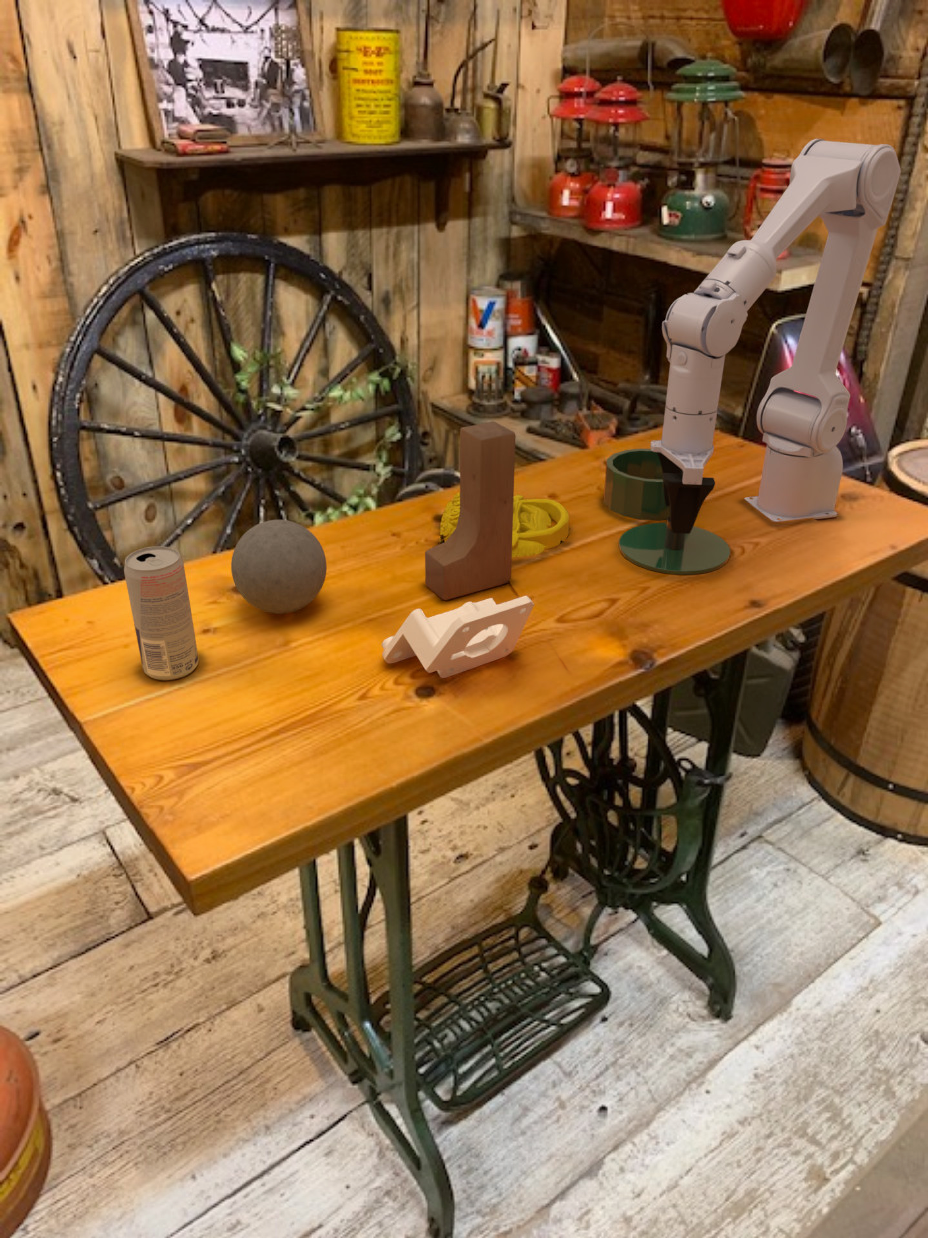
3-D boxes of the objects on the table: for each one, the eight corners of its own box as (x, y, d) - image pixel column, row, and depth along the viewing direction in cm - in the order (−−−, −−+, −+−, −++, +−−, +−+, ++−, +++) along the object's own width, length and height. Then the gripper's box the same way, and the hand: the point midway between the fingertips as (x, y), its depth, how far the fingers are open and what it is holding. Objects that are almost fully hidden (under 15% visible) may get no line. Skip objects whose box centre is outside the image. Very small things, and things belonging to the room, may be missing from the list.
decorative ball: (309, 636, 102) (302, 549, 97) (221, 624, 104) (209, 539, 99) (342, 591, 111) (336, 509, 106) (259, 581, 113) (250, 500, 108)
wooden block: (443, 602, 109) (442, 447, 99) (424, 585, 112) (421, 433, 103) (512, 583, 112) (517, 432, 103) (491, 567, 116) (494, 419, 107)
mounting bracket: (404, 702, 95) (427, 635, 87) (375, 653, 98) (394, 584, 90) (506, 666, 101) (536, 600, 93) (475, 620, 104) (501, 552, 96)
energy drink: (177, 646, 100) (159, 540, 94) (210, 664, 97) (194, 556, 91) (132, 668, 97) (110, 559, 91) (165, 688, 94) (145, 577, 88)
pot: (667, 485, 138) (672, 445, 135) (707, 518, 128) (713, 476, 125) (590, 493, 135) (593, 452, 132) (624, 528, 125) (628, 485, 122)
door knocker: (591, 539, 123) (593, 508, 121) (491, 574, 114) (492, 541, 112) (506, 497, 134) (507, 467, 132) (409, 526, 126) (409, 495, 123)
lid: (697, 525, 126) (701, 493, 124) (749, 571, 115) (755, 537, 113) (601, 537, 123) (604, 504, 121) (645, 585, 112) (649, 550, 110)
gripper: (649, 386, 116) (638, 493, 123) (661, 427, 104) (648, 543, 111) (710, 388, 116) (695, 495, 123) (729, 429, 103) (711, 546, 110)
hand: (677, 518), depth 117 cm, fingers open, 7 cm apart
